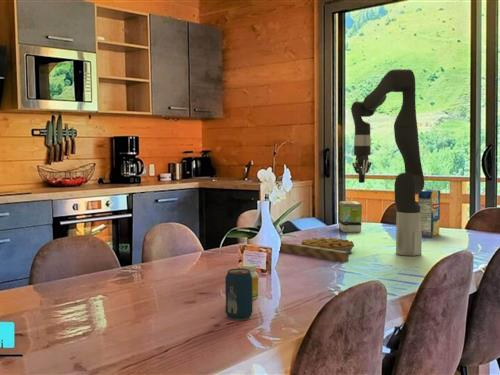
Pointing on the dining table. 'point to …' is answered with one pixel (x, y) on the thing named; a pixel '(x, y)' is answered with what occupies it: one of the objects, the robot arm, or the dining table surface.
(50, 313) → the dining table surface
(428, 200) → the beverage box
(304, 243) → the pie
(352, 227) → the tea box
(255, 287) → the supplement bottle
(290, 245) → the walnut board
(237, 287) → the soda can
